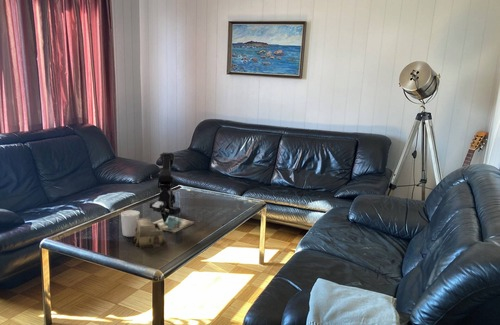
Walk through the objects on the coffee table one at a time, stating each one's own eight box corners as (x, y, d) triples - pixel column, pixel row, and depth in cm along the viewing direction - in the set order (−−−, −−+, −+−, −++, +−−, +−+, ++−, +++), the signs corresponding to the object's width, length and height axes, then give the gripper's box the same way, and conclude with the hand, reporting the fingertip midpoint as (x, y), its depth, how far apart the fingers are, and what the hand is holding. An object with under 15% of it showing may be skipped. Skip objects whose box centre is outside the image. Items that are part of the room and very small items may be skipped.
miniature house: (136, 249, 200) (136, 228, 198) (132, 239, 212) (132, 218, 210) (166, 246, 206) (167, 225, 204) (161, 236, 219) (161, 216, 216)
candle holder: (143, 232, 222) (143, 211, 220) (132, 238, 213) (132, 217, 211) (128, 229, 225) (128, 209, 223) (117, 235, 216) (116, 214, 214)
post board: (149, 225, 232) (149, 217, 231) (170, 217, 248) (170, 209, 247) (174, 232, 224) (174, 224, 223) (193, 223, 239) (193, 215, 238)
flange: (164, 219, 240) (164, 211, 239) (180, 219, 241) (181, 211, 240) (161, 229, 224) (161, 220, 223) (179, 229, 226) (179, 220, 224)
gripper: (142, 195, 224) (142, 222, 227) (168, 202, 215) (167, 229, 218) (156, 191, 233) (156, 217, 236) (181, 197, 224) (181, 224, 228)
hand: (164, 222), depth 229 cm, fingers closed
